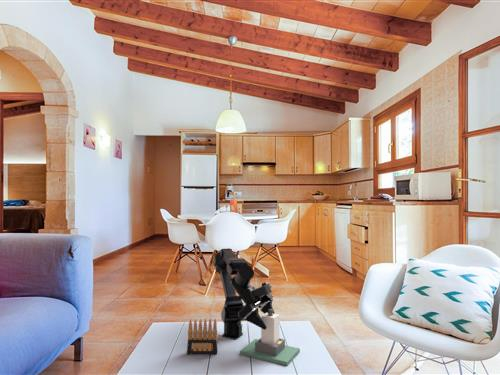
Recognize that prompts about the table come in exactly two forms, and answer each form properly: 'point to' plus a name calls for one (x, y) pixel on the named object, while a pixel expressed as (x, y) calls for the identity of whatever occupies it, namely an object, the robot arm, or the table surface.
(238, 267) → the robot arm
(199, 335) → the ammunition clip
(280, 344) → the header board
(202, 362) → the table surface
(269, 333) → the plug block
